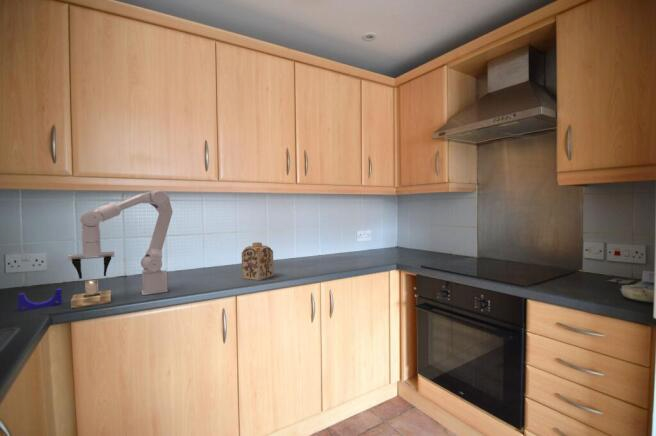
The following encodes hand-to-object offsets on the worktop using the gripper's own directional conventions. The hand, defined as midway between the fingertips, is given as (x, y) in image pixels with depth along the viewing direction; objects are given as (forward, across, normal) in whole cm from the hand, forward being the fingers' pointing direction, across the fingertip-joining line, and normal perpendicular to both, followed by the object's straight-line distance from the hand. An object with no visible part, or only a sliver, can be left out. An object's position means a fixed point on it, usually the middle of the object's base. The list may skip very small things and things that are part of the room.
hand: (93, 277), depth 128 cm
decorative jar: (+10, -68, -2) cm, 69 cm away
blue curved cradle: (+10, +16, -5) cm, 20 cm away
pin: (+9, 0, +1) cm, 9 cm away
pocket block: (+10, +1, +1) cm, 10 cm away
